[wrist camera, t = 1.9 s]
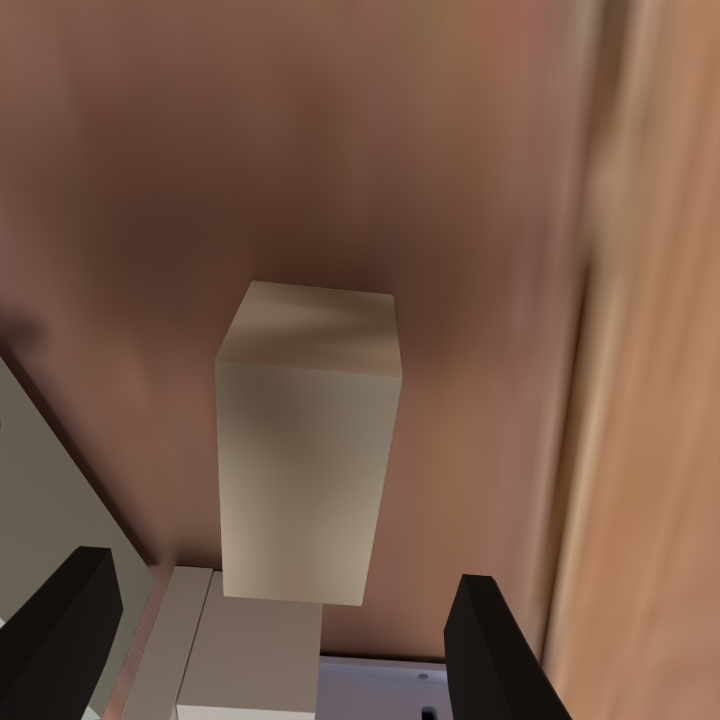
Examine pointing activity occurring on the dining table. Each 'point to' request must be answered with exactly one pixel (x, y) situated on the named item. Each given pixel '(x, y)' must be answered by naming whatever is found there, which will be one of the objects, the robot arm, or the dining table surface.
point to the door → (56, 525)
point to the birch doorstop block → (304, 439)
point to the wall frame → (226, 656)
